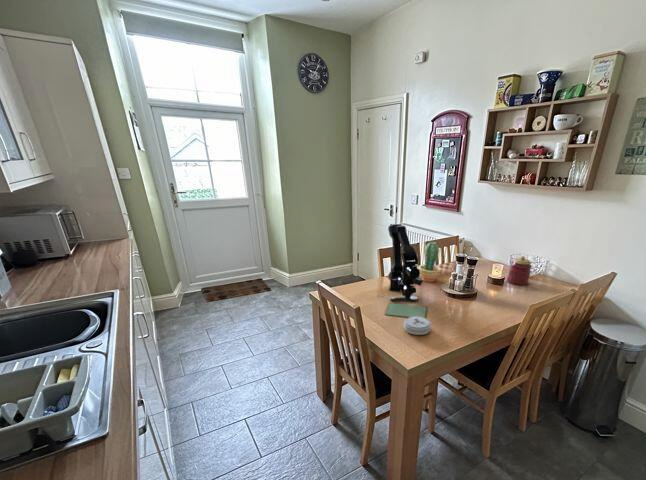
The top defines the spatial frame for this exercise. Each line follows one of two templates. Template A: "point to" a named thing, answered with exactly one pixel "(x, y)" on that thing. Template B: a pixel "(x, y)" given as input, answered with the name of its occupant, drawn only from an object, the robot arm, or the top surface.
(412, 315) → the placemat
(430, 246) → the potted cactus
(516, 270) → the kitchen canister
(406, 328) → the lid
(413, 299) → the spoon
